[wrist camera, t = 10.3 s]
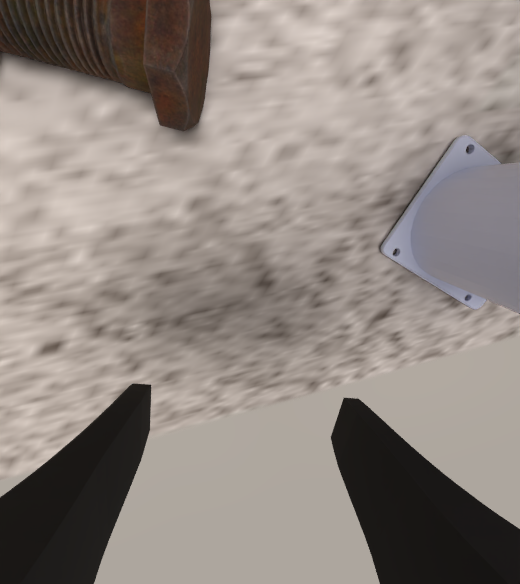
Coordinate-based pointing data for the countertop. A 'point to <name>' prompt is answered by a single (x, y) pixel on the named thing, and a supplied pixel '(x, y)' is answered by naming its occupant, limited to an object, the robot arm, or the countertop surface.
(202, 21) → the bolt
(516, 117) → the countertop surface
